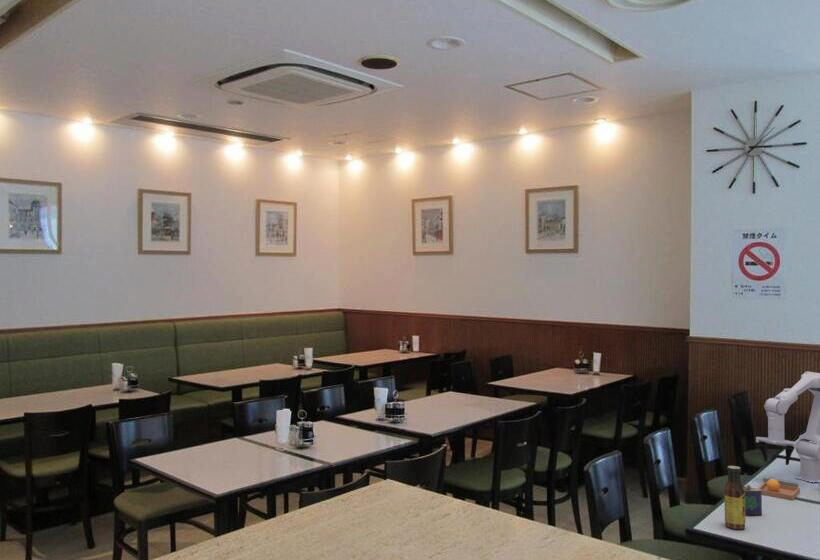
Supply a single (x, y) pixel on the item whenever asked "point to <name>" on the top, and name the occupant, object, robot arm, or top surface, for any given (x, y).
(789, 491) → the tray
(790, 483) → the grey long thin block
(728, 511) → the sauce bottle
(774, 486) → the ball
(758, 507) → the flask
